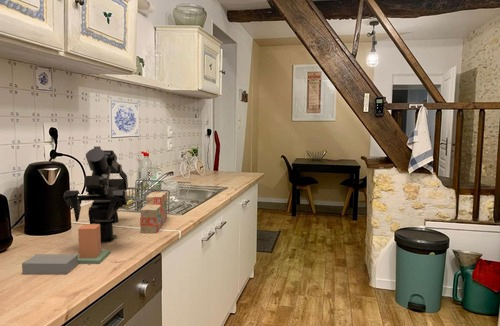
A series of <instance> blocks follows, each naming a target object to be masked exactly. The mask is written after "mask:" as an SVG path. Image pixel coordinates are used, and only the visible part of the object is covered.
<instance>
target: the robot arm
mask: <svg viewBox="0 0 500 326" xmlns="http://www.w3.org/2000/svg"><path fill="white" fill-rule="evenodd" d="M101 147H102V146H100V145H99V146H98V145H97V146H95V145H94V146H93V148H92V149H90V150H88V151H87V152H86V153H85V158H86V160H87V164H88V167H89V170H90V171H91V172H92V173H91V175H85V176H84V183H83V184H84V185H83V186H84V187H85V192H86V193H87V194H86V193H84V194H83V193H81V194H80V191H79V190H77V189H75V190H73V189H72V190H71V189H70V190H65V192H64V193H63V196H62V197H63V200H64V202H65V204H66V206H68V207H70V208H71V209H73V213H74V220H75V222H77V223H78V222H79V220H80V214H81V209H82V206H81V205H82V201H83V202H84V201H92V202H91V205H90V206H89V207H88V212H87V213H88V221H89V224H100V234H101V243H104V242H105V243H108V242H110V243H111V241H113V240H114V239H115V238H116V237H117V234H114V227H113V224H114V225H115V224H116V223H119V215H118V211H117V210H119V209H120V208H123V206H127V205H128V195H127V190H128V189H129V181H128V175H127V174H126V173H125V171H123V168H122V166H123V165H122V164H120V163H119V162H118V155H117V154H116V152H114V150H113V149H112V150H103V149H101ZM111 174H114V175H116V174H119V177H121V178H111V177H110V175H111Z"/></svg>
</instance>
